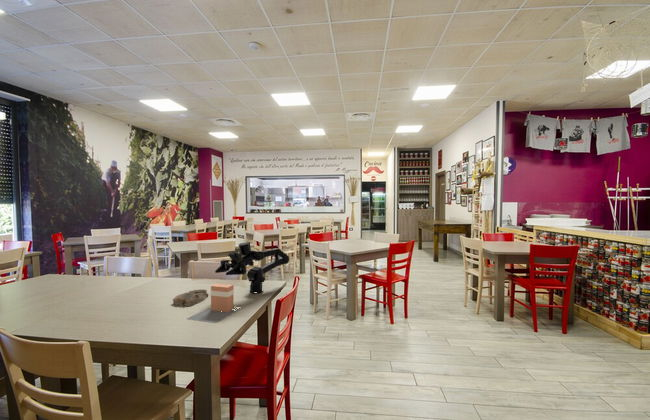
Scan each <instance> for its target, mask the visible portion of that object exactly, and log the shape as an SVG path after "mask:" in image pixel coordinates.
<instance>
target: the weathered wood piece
mask: <svg viewBox="0 0 650 420" xmlns="http://www.w3.org/2000/svg"><path fill="white" fill-rule="evenodd" d="M207 292H208V290H207V289H193V290H189V291H188V292H183V293H181V294H178V295H176V296H175V297H173V299H172V302H173V304H174V305H176V306H179V305H182V306H184V305H185V307H190V306H194V305H197V304H200V303H201V302H203V301H205V300H206V299H207V298H208V297H209V293H207ZM206 297H207V298H206Z"/></svg>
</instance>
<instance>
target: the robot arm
mask: <svg viewBox="0 0 650 420" xmlns="http://www.w3.org/2000/svg"><path fill="white" fill-rule="evenodd" d="M238 248H239V252H238V250H231V251H230V252H229V253H228V254H227V255H228V256H229V258H230V261H229V260H227V259H222V260H220V261H219V263H220V265H219V266H218V267H217V268H216V270H215V271H214V273H215V274H218V273H225V276H237V275H240V276H241V275H245V274H246V273H247V274H246V277H247V280H248V282H249V283H250V285H249V287H250V289H249V291H250V292H249V293H252V292H260V293H262V292H261V291H262V290H263V283H264V282H265V279H266V278H265V277H264V275H265V274H267V273H268V272H270V271H272V270H273V269H275V268H277V267H278V266H283V265H287V264H289V261H290V256H289V255H288V254H287V253H285V252H284V251H283V250H281V248H276V247H275V248H270V249H267V250H252V247H251V242H250V241H246V242H241V243H239V244H238ZM272 256H274V260H271V261H270V262H268V263H266V264H264V265H262V266H261V267H259V266H258V267H257V266H254V263H255V261H256V262H259V261H262V260H263V259H264V258H268V257H272ZM247 266H248V267H252V268H249V270H248V271H247Z"/></svg>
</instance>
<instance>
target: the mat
mask: <svg viewBox="0 0 650 420" xmlns="http://www.w3.org/2000/svg"><path fill="white" fill-rule="evenodd" d="M239 306H240V305H239ZM240 307H242V306H240ZM235 308H236V307H235ZM235 308H234V309H235ZM236 309H237V308H236ZM236 309H235V310H236ZM239 310H241V309H240V308H239ZM235 312H238V310H236V311H234V310H230V311H229V312H221V311H214V310H211V308H210V307H208V308H206V309H204V310H201V311H200V312H198V313H195V314H193V315H191V316H190V317H187V318H186V320H191V321H198V322H204V323H206V322H207V323H211V324H212V323H213V324H217V323H219V322H220V321H222V320H224V319H226V318H227V317H229V316H231V315H232V314H234V313H235Z"/></svg>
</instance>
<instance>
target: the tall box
mask: <svg viewBox="0 0 650 420" xmlns="http://www.w3.org/2000/svg"><path fill="white" fill-rule="evenodd" d="M234 286H235V285H234V284H228V283H215V284H212V285H211V286H210V307H211V310H214V311H222V312H229V311H230V310H232V309H234V306H235V305H234V303H235V302H234V297H235V295H234V294H235V291H234V290H235V289H234Z"/></svg>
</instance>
